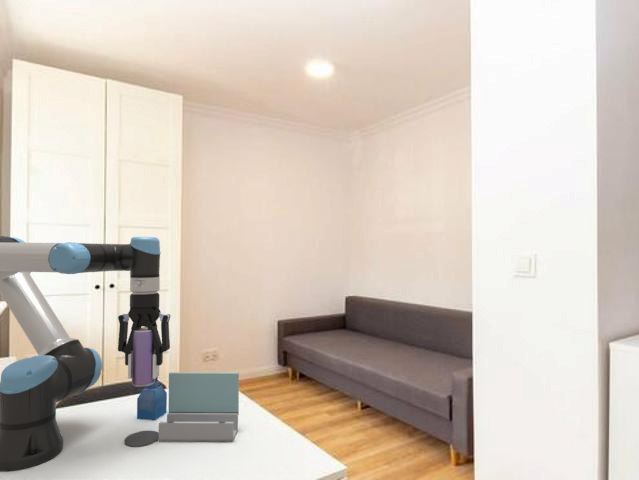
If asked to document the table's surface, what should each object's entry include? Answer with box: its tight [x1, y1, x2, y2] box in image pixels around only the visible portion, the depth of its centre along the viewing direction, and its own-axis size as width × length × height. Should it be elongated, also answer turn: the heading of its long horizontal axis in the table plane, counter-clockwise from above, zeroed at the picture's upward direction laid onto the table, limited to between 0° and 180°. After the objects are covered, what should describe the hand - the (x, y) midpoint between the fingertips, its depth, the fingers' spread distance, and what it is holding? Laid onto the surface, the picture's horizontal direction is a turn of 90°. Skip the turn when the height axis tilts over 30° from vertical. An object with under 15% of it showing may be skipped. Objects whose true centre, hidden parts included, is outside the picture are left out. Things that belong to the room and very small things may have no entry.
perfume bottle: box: [136, 376, 168, 421], centre depth 127 cm, size 6×6×12 cm
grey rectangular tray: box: [158, 412, 239, 443], centre depth 113 cm, size 20×7×5 cm, turn 90°
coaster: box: [123, 430, 159, 448], centre depth 111 cm, size 9×9×1 cm
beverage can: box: [131, 326, 156, 388], centre depth 112 cm, size 6×6×15 cm
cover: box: [168, 371, 240, 416], centre depth 117 cm, size 20×12×1 cm
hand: (143, 376), depth 112 cm, fingers closed on beverage can, 6 cm apart
